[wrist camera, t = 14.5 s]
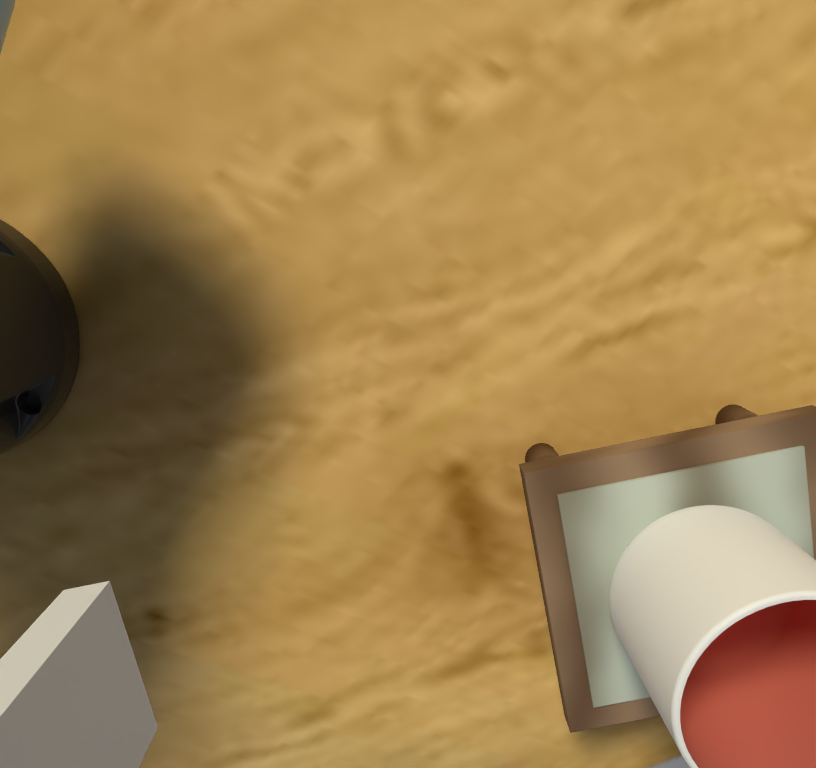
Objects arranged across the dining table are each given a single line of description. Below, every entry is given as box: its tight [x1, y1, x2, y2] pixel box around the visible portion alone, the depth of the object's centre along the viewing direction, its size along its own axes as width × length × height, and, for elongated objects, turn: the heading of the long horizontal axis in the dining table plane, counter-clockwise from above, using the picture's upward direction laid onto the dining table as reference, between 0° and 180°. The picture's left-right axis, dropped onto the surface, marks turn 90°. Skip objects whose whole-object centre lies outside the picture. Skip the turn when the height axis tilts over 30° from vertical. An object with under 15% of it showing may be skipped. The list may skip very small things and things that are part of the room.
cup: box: [609, 505, 816, 768], centre depth 33 cm, size 10×10×10 cm
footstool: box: [519, 405, 816, 733], centre depth 42 cm, size 16×16×7 cm
